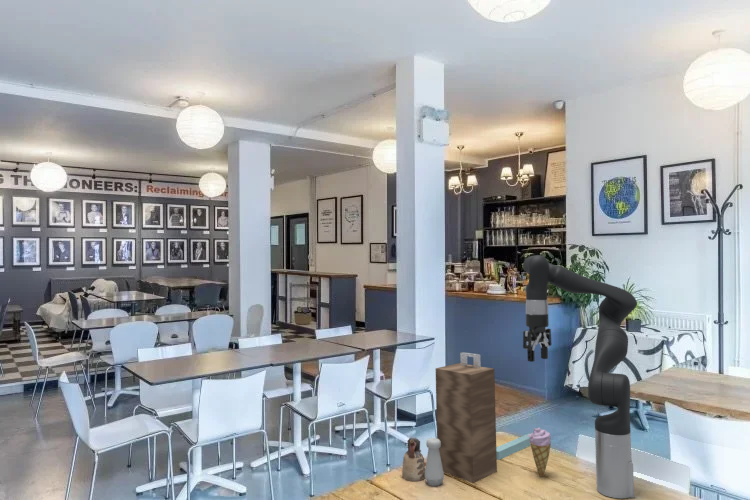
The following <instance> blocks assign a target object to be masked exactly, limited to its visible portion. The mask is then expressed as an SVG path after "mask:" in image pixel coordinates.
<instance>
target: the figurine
mask: <svg viewBox="0 0 750 500" xmlns="http://www.w3.org/2000/svg"><path fill="white" fill-rule="evenodd" d="M406 443H407V451H406V452H404V455H403V457H402V459H403V460H402V470H401V471H402V472H401V473H402V478H403V479H405V480H406V481H408V482H409V481H410V482H419V481H420V482H421V481H423V480H426V479H425V469H426V464H425V458H424V455H423V454H422V450H421V440H420V439H418V438H417V437H413V436H411V437H410V438H408V440H406Z"/></svg>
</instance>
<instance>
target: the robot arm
mask: <svg viewBox="0 0 750 500" xmlns="http://www.w3.org/2000/svg"><path fill="white" fill-rule="evenodd" d="M522 266H523V270H524V272H526V273H527V274H528V283H527V284H526V287H525V326H526V327H528V330H523V332H522V334H523V336H522V338H523V339H522V348H523V349H525V350H527V361H528V362H533V363H534V362H535V359H536V357H535V348H536V346H538V344H539V345H540V358H541V359H544V360H547V359H549V356H548V354H549V352H548V349H549V348H550V346H552V329H551V328H547V327H549V303H548V288H547V287H548V283H550V284H551V285H553V286H554V287H557V288H559V289H560V290H563V291H566V292H568V293H573V294H590V295H598V296H599V295H600V296H603V297H604V298H603V300H601V302H600V303H599V305H598V328H597V335H596V339H595V340H596V341H595V347H594V356H593V357H594V358H593V363H592V365H591V370H590V373H589V374H590V375H589V378H588V383H587V396H588V399H589V401H590V402H591V403H592V404H594V405H597V406H606V407H614V408H617V409H616V410H615V411H614V412H611V413H609V414H608V413H607V414H604V415H600V416H598V417H596V418H595V419H594V441H595V443H594V444H595V445H594V446H595V448H594V449H595V470H596V472H595V473H596V476H595V477H596V478H595V479H596V491H597V492H598V493H599V494H601V495H603V496H606V497H609V498H614V499H628V498H631V499H632V498H633V499H634V498H635V483H634V482H635V481H634V463H633V460H632V437H631V436H632V435H631V383H630V379H629V377H628V376H627V375H626V374H623V373H614V372H609V371H611V370H612V369H614V368H615V367H617V365H619V364H620V363H622V361H624V360H625V358H626V356H627V355H628V350H629V349H628V348H629V337H628V334H627V333H626V331H625V330H624V329H623V328H622V327H621V325H622V323H623V321H624V320H625V319H626V318H627V317H628V316H629V315H630V314H631V313H632V312H633V311H634V310H635V308H636V307H637V306H638V301H637V298H636V297H635V295H633V294H632V293H631V292H630V291H627V290H626V289H624V288H621V287H619V286H615V285H612V284H608V283H605V282H602V281H600V280H599V281H598V280H595V279H591V278H590V277H589V278H588V277H586V276H583V275H581V274H578V273H576V272H574V271H572V270H570V269H568V268H565V267H563V266H561V265H556V264H552V263H550V262H549V261H548V259H547V257H545V256H544V255H539V254H536V255H531V256H528V257H526V258H525V259H524V261H523V265H522Z"/></svg>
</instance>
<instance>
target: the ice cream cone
mask: <svg viewBox="0 0 750 500" xmlns="http://www.w3.org/2000/svg"><path fill="white" fill-rule="evenodd" d="M528 434H529V433H528ZM527 437H530V439H529V441H530V444H531V446H530V449H531V453H532V455H533V457H532V458H533V461H534V463H535V467H536V470H537V474H538V476H539V477H540V478H544V477H545V474H546V469H547V465H548V461H549V457H550V452H551V445H552V441H551V439H552V436H551V433H550V432H548V431H547V430H546V429H541V427H538V428H533V432H531V434H529V435H528V436H527Z"/></svg>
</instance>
